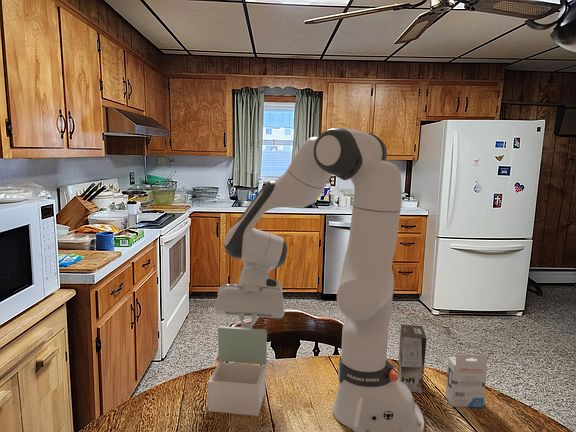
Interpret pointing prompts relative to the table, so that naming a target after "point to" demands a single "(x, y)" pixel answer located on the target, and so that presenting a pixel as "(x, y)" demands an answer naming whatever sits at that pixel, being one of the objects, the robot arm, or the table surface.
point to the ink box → (466, 380)
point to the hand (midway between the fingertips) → (245, 330)
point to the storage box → (237, 388)
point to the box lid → (242, 345)
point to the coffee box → (412, 357)
